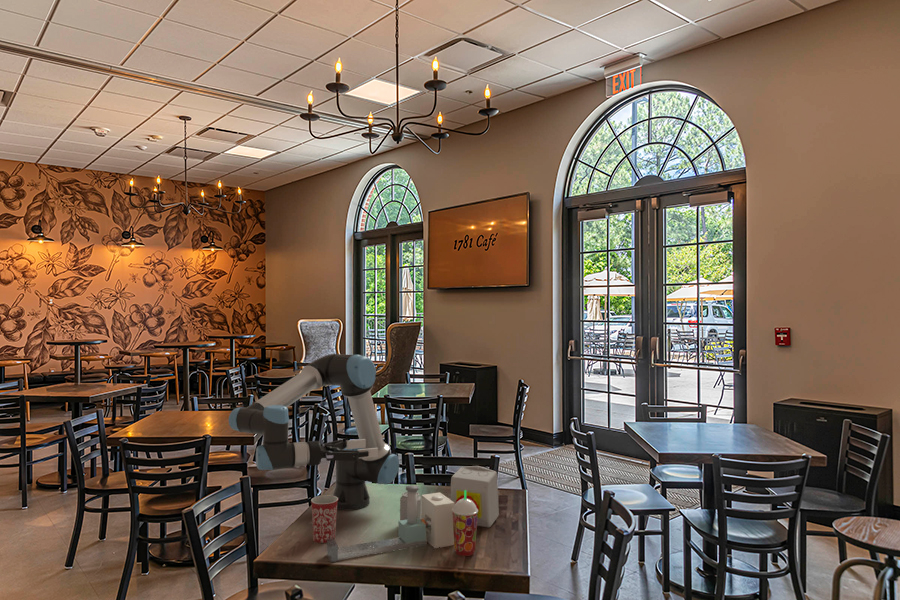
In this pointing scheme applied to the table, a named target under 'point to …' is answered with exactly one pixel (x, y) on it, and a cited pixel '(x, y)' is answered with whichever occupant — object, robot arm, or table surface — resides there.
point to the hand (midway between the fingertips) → (371, 447)
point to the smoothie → (465, 526)
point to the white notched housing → (438, 519)
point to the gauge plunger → (427, 522)
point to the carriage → (412, 519)
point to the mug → (324, 517)
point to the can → (404, 506)
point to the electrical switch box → (477, 491)
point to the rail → (367, 548)
